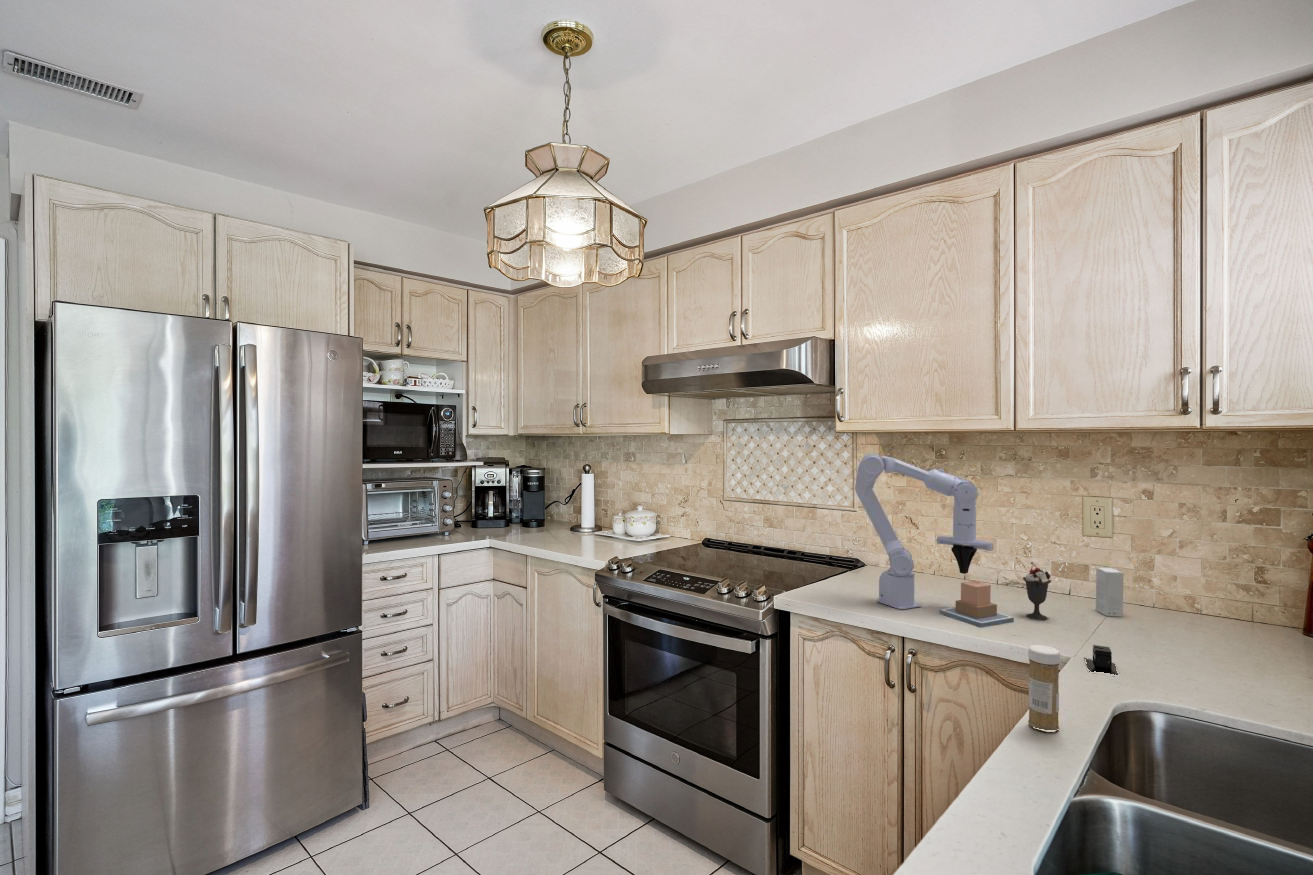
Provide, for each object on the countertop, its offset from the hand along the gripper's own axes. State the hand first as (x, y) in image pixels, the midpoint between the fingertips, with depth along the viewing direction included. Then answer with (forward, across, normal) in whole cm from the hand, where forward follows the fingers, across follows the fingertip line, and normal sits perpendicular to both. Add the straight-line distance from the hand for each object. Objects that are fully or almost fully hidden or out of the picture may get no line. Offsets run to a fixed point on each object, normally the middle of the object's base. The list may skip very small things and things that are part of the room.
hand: (963, 572), depth 175 cm
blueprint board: (+10, +5, -4) cm, 12 cm away
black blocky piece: (+11, +37, -20) cm, 44 cm away
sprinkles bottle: (+11, +38, -60) cm, 72 cm away
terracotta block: (+6, +5, -4) cm, 9 cm away
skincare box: (+11, +27, +27) cm, 40 cm away
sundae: (+11, +16, +8) cm, 21 cm away
